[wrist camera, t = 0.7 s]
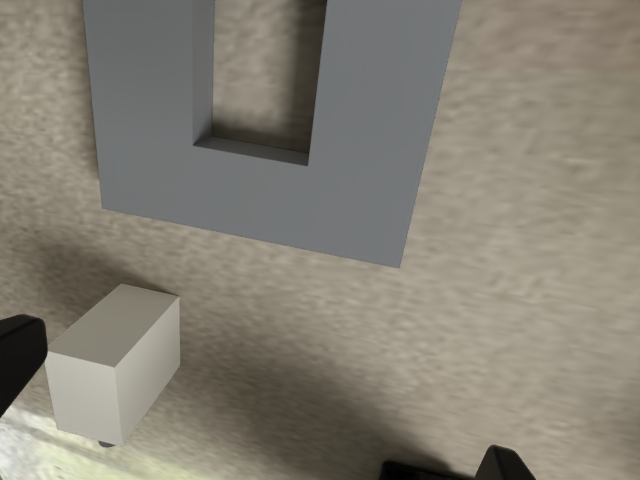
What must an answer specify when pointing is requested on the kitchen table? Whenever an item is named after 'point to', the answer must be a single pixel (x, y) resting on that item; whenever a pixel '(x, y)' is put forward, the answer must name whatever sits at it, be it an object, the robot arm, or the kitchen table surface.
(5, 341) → the robot arm
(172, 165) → the socket plate
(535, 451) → the kitchen table surface
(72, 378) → the plug
